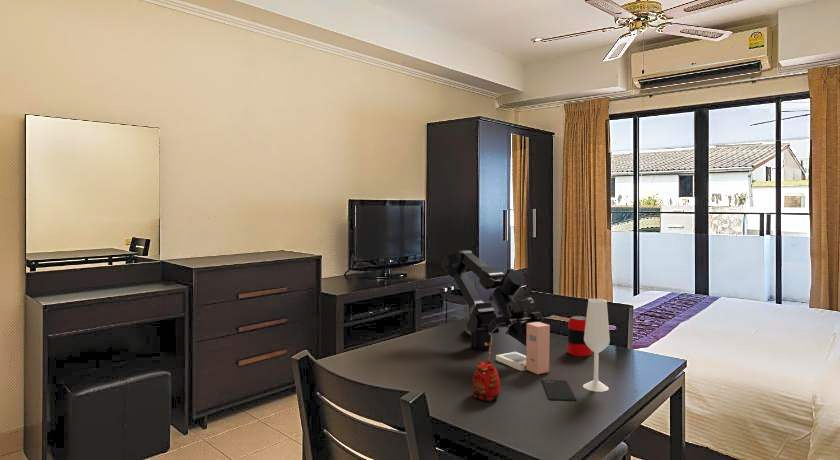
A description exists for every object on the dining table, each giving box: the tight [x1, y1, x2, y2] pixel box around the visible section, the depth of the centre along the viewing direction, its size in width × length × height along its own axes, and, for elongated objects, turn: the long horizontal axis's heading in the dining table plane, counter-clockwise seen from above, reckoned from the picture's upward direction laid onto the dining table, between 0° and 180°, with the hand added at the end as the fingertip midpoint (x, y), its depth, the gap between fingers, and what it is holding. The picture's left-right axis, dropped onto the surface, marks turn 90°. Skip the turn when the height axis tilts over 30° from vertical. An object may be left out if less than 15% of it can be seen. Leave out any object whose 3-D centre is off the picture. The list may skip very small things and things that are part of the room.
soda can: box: [567, 315, 592, 358], centre depth 172 cm, size 8×8×12 cm
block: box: [525, 321, 551, 375], centre depth 153 cm, size 5×5×14 cm
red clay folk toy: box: [471, 337, 501, 402], centre depth 133 cm, size 8×7×15 cm
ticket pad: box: [495, 351, 527, 372], centre depth 162 cm, size 12×8×2 cm, turn 29°
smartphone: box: [540, 378, 577, 402], centre depth 139 cm, size 7×1×15 cm
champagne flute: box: [582, 298, 611, 393], centre depth 140 cm, size 7×7×24 cm
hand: (528, 346), depth 157 cm, fingers closed
